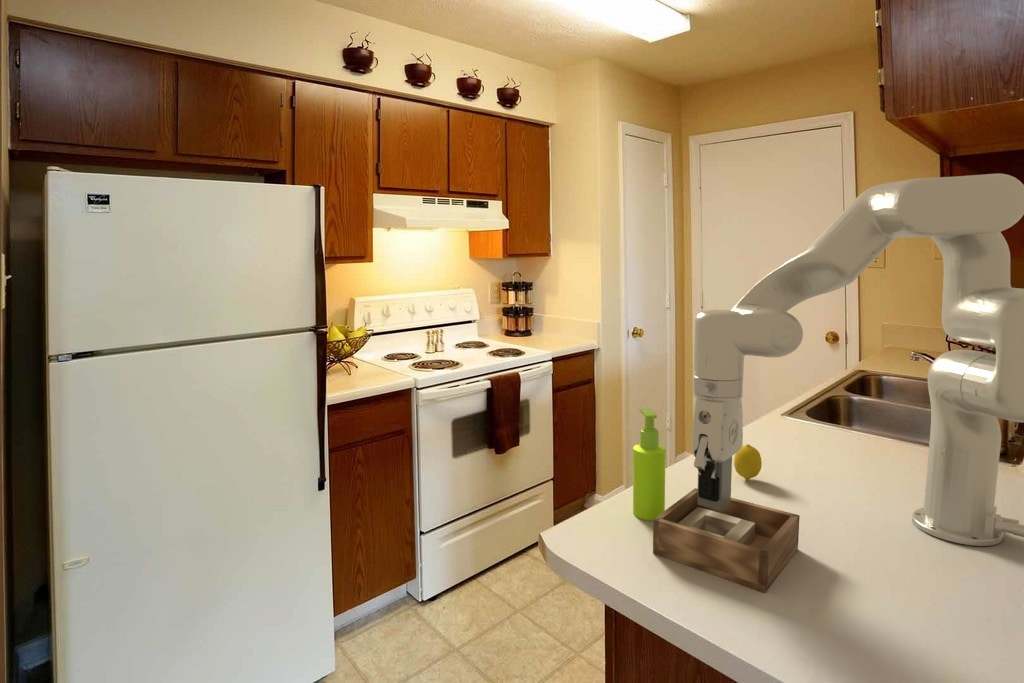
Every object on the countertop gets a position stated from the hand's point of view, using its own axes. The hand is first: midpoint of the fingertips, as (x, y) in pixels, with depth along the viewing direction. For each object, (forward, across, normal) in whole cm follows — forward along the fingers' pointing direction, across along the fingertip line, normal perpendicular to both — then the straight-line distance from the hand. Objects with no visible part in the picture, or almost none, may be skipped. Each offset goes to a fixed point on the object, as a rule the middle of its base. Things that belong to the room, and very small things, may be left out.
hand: (714, 493), depth 96 cm
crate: (+10, 0, -2) cm, 10 cm away
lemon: (+10, +32, +6) cm, 34 cm away
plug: (+2, 0, 0) cm, 2 cm away
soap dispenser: (+10, +5, +15) cm, 19 cm away
